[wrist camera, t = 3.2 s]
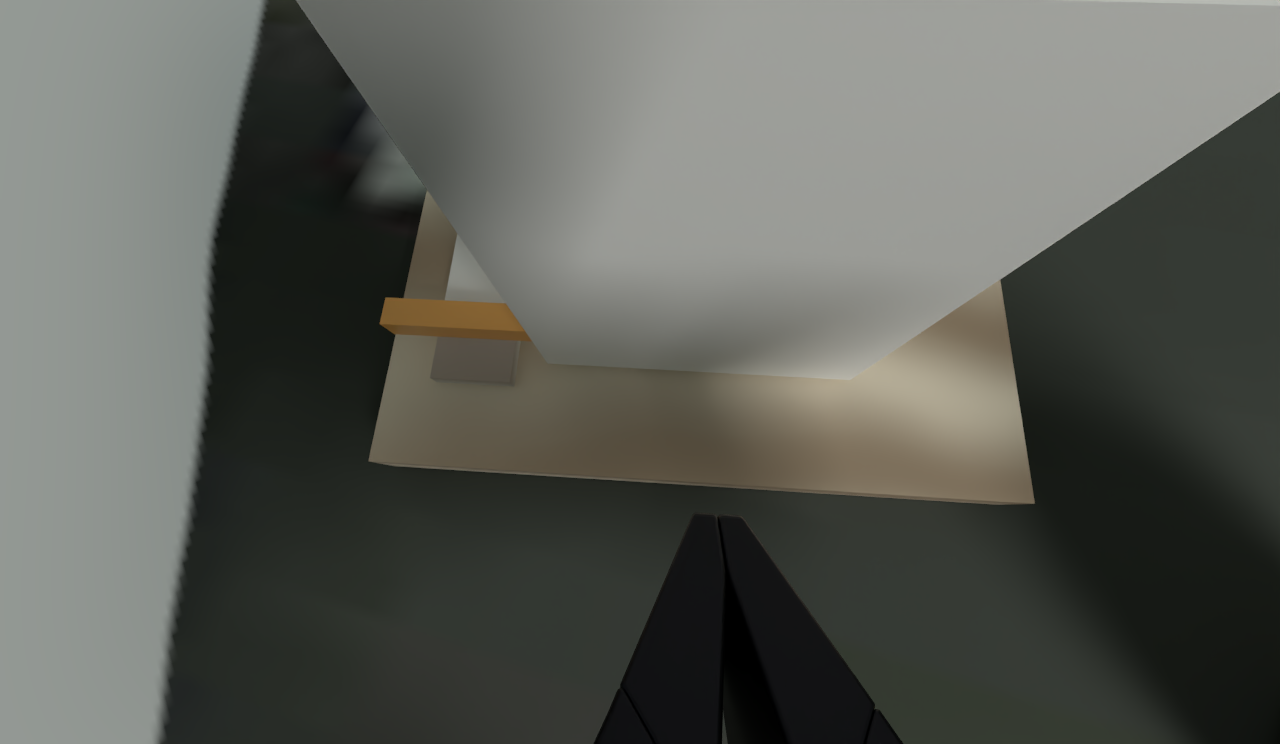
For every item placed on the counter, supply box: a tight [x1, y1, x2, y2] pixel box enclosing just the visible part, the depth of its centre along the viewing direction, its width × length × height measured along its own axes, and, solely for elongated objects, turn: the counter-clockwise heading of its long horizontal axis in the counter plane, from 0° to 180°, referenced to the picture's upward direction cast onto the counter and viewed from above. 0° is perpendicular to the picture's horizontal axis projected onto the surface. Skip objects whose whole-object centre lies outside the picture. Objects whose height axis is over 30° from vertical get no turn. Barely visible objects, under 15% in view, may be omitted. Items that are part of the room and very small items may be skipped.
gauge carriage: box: [296, 0, 1280, 380], centre depth 10 cm, size 6×13×11 cm, turn 86°
